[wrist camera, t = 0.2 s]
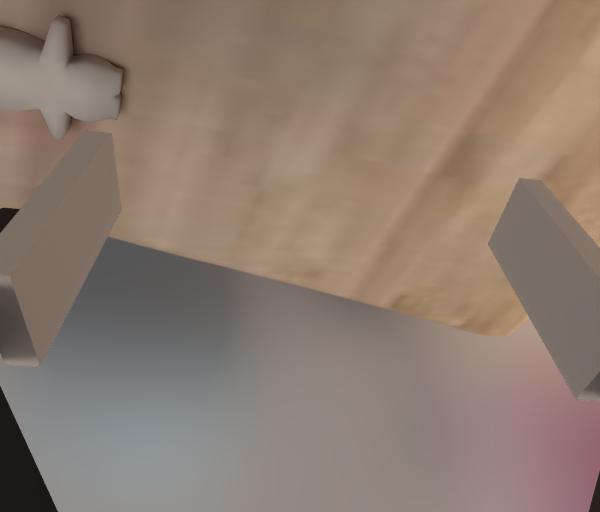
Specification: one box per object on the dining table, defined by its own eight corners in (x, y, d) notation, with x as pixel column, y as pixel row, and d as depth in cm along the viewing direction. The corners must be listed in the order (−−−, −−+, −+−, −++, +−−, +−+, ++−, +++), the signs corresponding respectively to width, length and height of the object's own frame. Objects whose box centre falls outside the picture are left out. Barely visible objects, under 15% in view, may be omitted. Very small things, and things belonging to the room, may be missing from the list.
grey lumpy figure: (111, 157, 40) (-95, 117, 36) (120, 131, 44) (-65, 91, 40) (119, 46, 35) (-125, -18, 30) (129, 27, 38) (-86, -32, 34)
